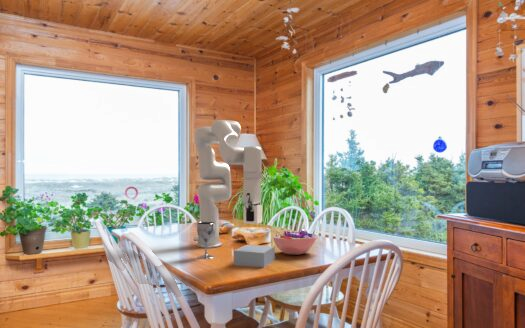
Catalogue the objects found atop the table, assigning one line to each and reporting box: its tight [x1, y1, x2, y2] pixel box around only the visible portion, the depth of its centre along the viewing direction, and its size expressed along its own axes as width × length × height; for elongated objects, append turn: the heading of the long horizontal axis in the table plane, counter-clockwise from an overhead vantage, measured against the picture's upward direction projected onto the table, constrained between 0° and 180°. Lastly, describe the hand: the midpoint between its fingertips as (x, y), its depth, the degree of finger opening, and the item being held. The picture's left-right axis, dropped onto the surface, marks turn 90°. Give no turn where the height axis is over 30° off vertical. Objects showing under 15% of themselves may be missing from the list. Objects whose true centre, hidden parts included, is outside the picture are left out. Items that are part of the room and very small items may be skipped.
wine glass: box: [196, 221, 215, 260], centre depth 168 cm, size 8×8×15 cm
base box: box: [233, 244, 276, 268], centre depth 158 cm, size 13×13×6 cm
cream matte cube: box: [243, 204, 263, 225], centre depth 158 cm, size 6×6×7 cm
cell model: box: [272, 228, 318, 256], centre depth 173 cm, size 17×20×11 cm
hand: (253, 219), depth 158 cm, fingers closed on cream matte cube, 6 cm apart
